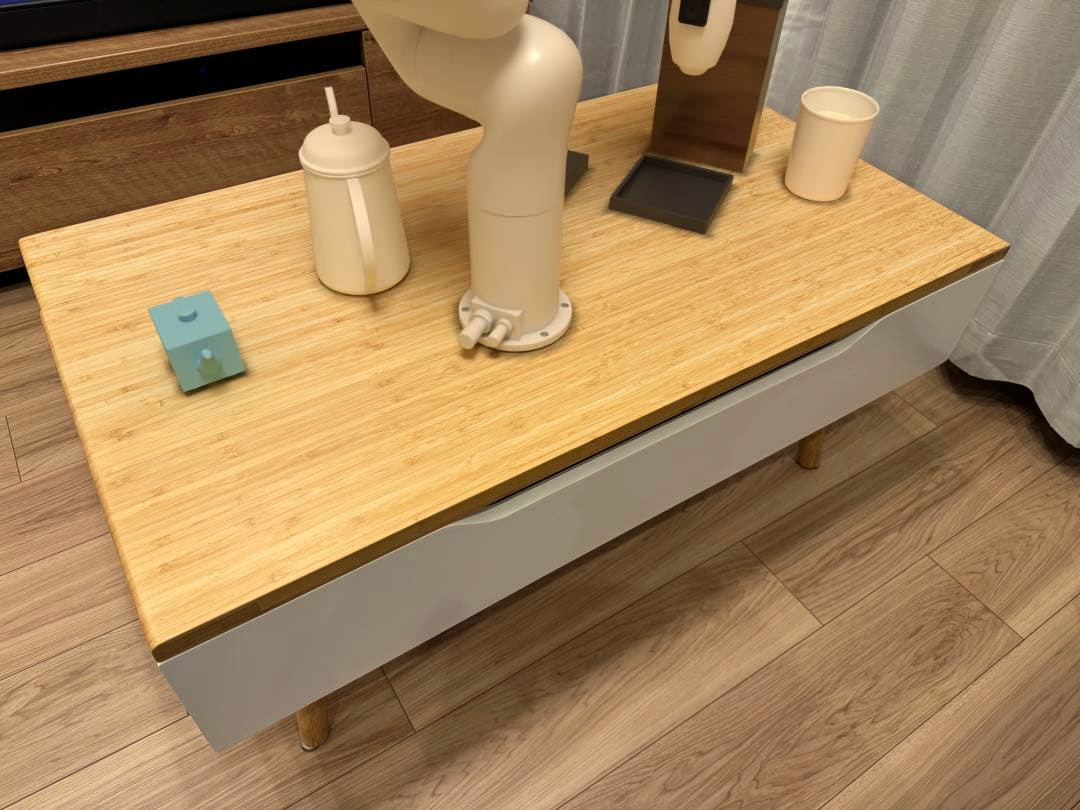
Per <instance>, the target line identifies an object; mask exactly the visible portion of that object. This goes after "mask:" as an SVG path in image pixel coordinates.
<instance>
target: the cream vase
mask: <svg viewBox="0 0 1080 810" xmlns="http://www.w3.org/2000/svg"><path fill="white" fill-rule="evenodd" d="M680 1H681V0H672V4H671V10H670V16H669V41H670V48H671V55H672V60H673V62H674V63H676V64H677V65H678V66H679V67H680V69H681V71H682V72H684V73H686V74H688V75H701V74H703V73H704V72H705V71H706V70H707V69H708V68H711V67H713V66H715V65H716V63H717V61H718V59H719V57H720V55H721V53H722V51H723V49H724V47H725V45H726V42H727V39H728V36H729V34H730V31H731V28H732V25H733V19H734V13H735V6H736V0H711V3H710V9H709V15H708V21H707V24H706V25H705V26H704V27H699V26H694V25H688V24H683V23H679V21H678V15H679V8H680Z"/></svg>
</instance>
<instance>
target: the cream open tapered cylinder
mask: <svg viewBox="0 0 1080 810" xmlns="http://www.w3.org/2000/svg"><path fill="white" fill-rule="evenodd" d="M799 100H800V101H799V108H798V112H797V116H796V117H797V118H796V121H795V122H796V123H795V126H794V131H793V136H792V142H791V146H790V151H789V155H788V158H787V159H788V160H787V165H786V170H785V174H784V185H785V188H786V189H788V191H789V192H791V193H792V194H793V195H795V196H798V197H799V198H802V199H805V200H808V201H813V202H831V201H832V202H833V201H836V200H838V199H840V198H841V197H843V196H844V194H845V193H846V191H847V188H848V187H849V185H850V181H851V179H852V177H853V174H854V172H855V169H856V167H857V165H858V162H859V160H860V158H861V155H862V153H863V150H864V148H865V145H866V143H867V141H868V138H869V135H870V134H871V131H872V129H873V126H874V124H875V121H876V119H877V117H878V115H879V114H880V105H879V103H878V102H877V101H876V100H875V99H874V97H871V96H870V95H868V94H866V93H864V92H861V91H859V90H855V89H853V88H848V87H844V86H836V85H835V86H834V85H825V86H816V87H812V88H809V89H807V90H805V91H804V92H803V93H802V94H801V96H800V99H799Z"/></svg>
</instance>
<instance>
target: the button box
mask: <svg viewBox="0 0 1080 810" xmlns="http://www.w3.org/2000/svg"><path fill="white" fill-rule="evenodd" d="M589 160H590V154H587V153H583V152H578V151H575V150H570V149H568V151H567V160H566V173H565V190H564V198H566V196H567V195H568V194H569V192H570V191H571V190H572V189H573V188H574V186H576V184H577V183H578V181H579V180H580V179H581V178H582V177H583V176H584V175H585V173H586V172H587V171H588V170H589V162H590V161H589Z"/></svg>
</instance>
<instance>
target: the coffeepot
mask: <svg viewBox="0 0 1080 810" xmlns="http://www.w3.org/2000/svg"><path fill="white" fill-rule="evenodd" d="M324 92H325V95H326V100H327V105H328V109H329V110H328V111H329V115H330V117H329V119H328V122H327V123H325V124H321V125H319V126H317V127H315V128H314V129H313V130H311V131H310V132H308V133H307V135H306V136H305V138H304V139H303V143H302V146H301V147H300V148H299V150H298V158H299V162H300V164H301V166H302V171H303V180H304V187H305V194H306V203H307V210H308V211H307V212H308V220H309V225H310V234H311V242H312V250H313V258H314V265H315V272H316V274H317V276H318V278H319V279H320V281H321V282H322V283H323V284H324V285H325V286H327V287H328V288H330V289H331V290H333V291H336V292H338V293H342V294H345V295H352V296H364V295H365V296H366V295H372V294H376V293H380V292H383V291H386V290H388V289H390V288H393V287H394V286H396V285H397V284H398V283H400V282H401V281H402V280H403V278H404V277H406V275H407V273H408V271H409V269H410V265H411V257H410V252H409V247H408V242H407V237H406V232H405V226H404V223H403V216H402V213H401V208H400V203H399V198H398V193H397V188H396V184H395V178H394V173H393V167H392V164H391V158H390V157H391V146H390V144H389V142H388V141H387V139H385V138H384V137H383V135H381V132H379V130H377V129H376V128H375V127H373V126H372V125H369V124H367V123H364V122H359V121H353V120H351V117H349V116H348V115H345V114H339V110H338V106H337V101H336V97H335V93H334V89H333V86H328V87H324Z"/></svg>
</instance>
